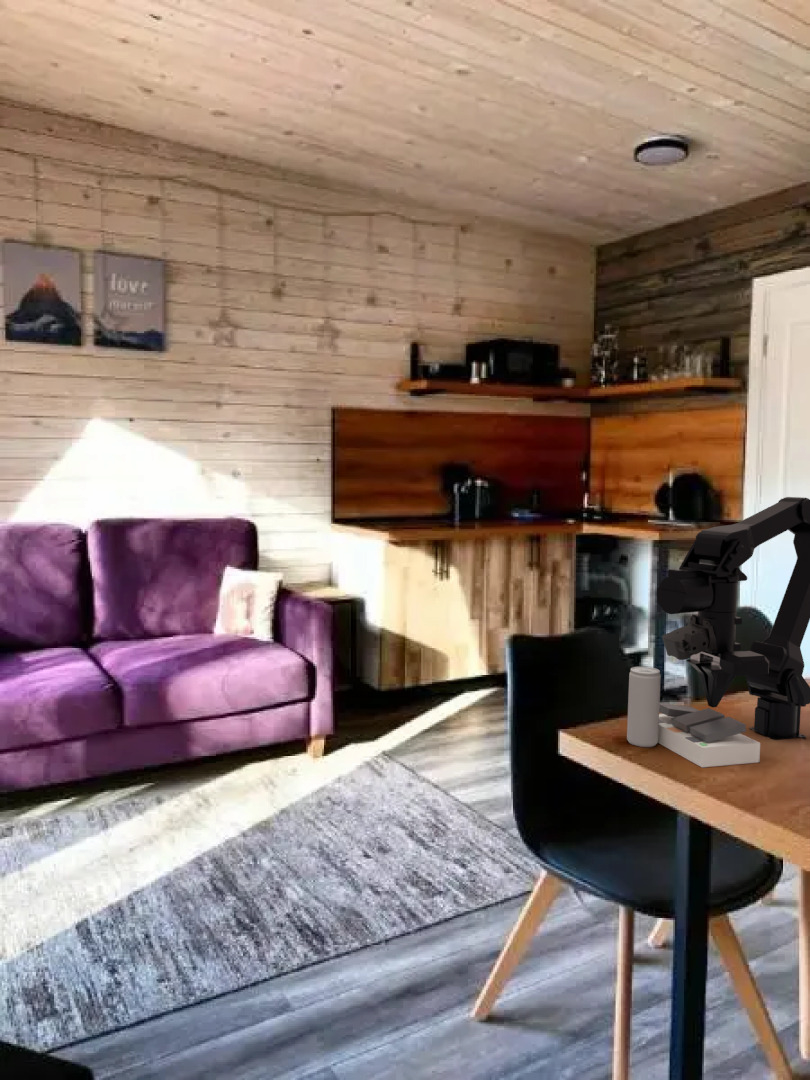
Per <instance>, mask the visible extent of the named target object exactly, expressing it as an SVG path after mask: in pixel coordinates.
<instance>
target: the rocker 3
mask: <svg viewBox="0 0 810 1080" xmlns="http://www.w3.org/2000/svg"><path fill="white" fill-rule="evenodd" d="M690 733H691V735H692V736H694V737H696V738H698V739H700V740H702V741H704V742H706V743H707V742H711V741H714V740H718V739H722V738H725V737H729V736H732V735H736V734H743V733H747V727H746V724H745V722H744V723H743V721H739V720H737V719H736V718H735V719H734V718H733V717H731V716H727V717H726V716H725V718H722V719H718V720H715V721H711V722H707V723H704V724H700V725H696V726H693V727H690Z"/></svg>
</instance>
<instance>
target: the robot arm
mask: <svg viewBox="0 0 810 1080" xmlns="http://www.w3.org/2000/svg"><path fill="white" fill-rule="evenodd" d="M787 531H789V532H790V533H792V535H794V537H793V540H792V541H793V542H792V543H793V547H794V550H795V555H796V561H795V564H794V566H793V570H792V573H791V575H790V577H789V580H788V583H787V587H786V589H785V592H784V594H783V596H782V599H781V603H780V606H779V609H778V611H777V613H776V616H775V619H774V622H773V624H772V625H773V626H771V627H772V628H771V630H770V632H769V636H768V637H767V638H765V639H764V640H763V641H757V640H756V641H755V640H754V641H753V643H752V644H751V647H750V650H741V647H742V645H741V644H742V643H739V642H737V641H736V628H737V627H736V626H737V625H743V618H742V617H740V616H737V604H738V603H737V600H738V586H739V585H738V583H739V582H744V581H745V582H746V581H747V580H748V576H747V575H746V574H745V573H744V572H743V571H742V570H741V569H740V567H741V566H742V565H743V564H745V562H747V561H748V560H750V559H751V558H752V557H753V554H754V551H755V549H756V548H757V547H759V546H761V545H762V544H764V543H766V542H768V541H771V540H772V539H773V538H776V537H777V536H779V535H781V534H783V533H785V532H787ZM659 583H660V584H659V585H658V588H656V589H657V590H656V597H657V602H658V605H659V607H660V608H661V610H663V611H664V612H665V613H666V614H669V615H677V614H688V613H689V614H690V613H691V616H690V617H689V624H687V625H686V626H682V627H679V628H676V629H674V630H671V631H669V632H668V633H665V634H663V635H662V641H663V644H664V647H665V651H666V655H667V656H668V657H674V658H676V659H677V660H678V661H683V660H686V661H685V662H687V663H688V664H689V665H690V666H692V667H693V668H694V669H695V670H696V671H697V673H698V676H699V678H700V682H701V684H702V688H703V692H704V695H705V699H706V702H707V706H709V708H710V707H711V708H717V707H718V706H719V704H720V702H721V701H722V699H723V698H724V696H725V694H726V692H727V690H728V689H729V687H730V685H731V684H732V682H733V681H734V680H735V678H736V677H743V676H745V680H746V685H747V689H748V694H749V695H750V696H755V697H757V699H756V700H757V701H756V702H757V703H756V707H755V708H754V724H753V726H752V727H749V729H750V730H751V731H753V732H755V733H758V734H760V735H762V736H764V737H767V738H769V739H771V740H772V741H773V740H774V741H779V740H792V739H803V740H806V739H807V735H805V734H803V733H801V732H800V731H801V729H800V727H801V712H802V710H801V708H802V707H806V706H807V705H810V685H809V684H808V682H807V681H806V679H805V678H804V677H803V673H804V669H805V662H804V656H803V653H802V650H801V646H802V642H803V640H804V637H805V634H806V632H807V629H808V626H809V623H810V498H807V497H801V496H800V497H798V496H793V497H792V496H785V497H783V498H780V499H779V500H778V502H776V503H774V504H773V505H771V506H768V507H766V508H764V509H762V510H760V511H759V512H757V513H755V514H752V515H750V516H748V517H747V518H745V519H742V520H741V521H739V522H737V523H734V524H728V525H727V524H726V525H719V526H714V527H710V528H705V529H703V530H701V531H700V532H698V533H697V534H696V535H695V540H694V541H693V543H692V544H691V547H690V548H689V550H688V552H687V554H686V555H685V558H684V559H683V561H682V562H681V564H680V566H679V567H678V568H677V569H676V568H668V570H667V577H665V578H663V579H662V580H661V582H659ZM689 658H690V659H689Z"/></svg>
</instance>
